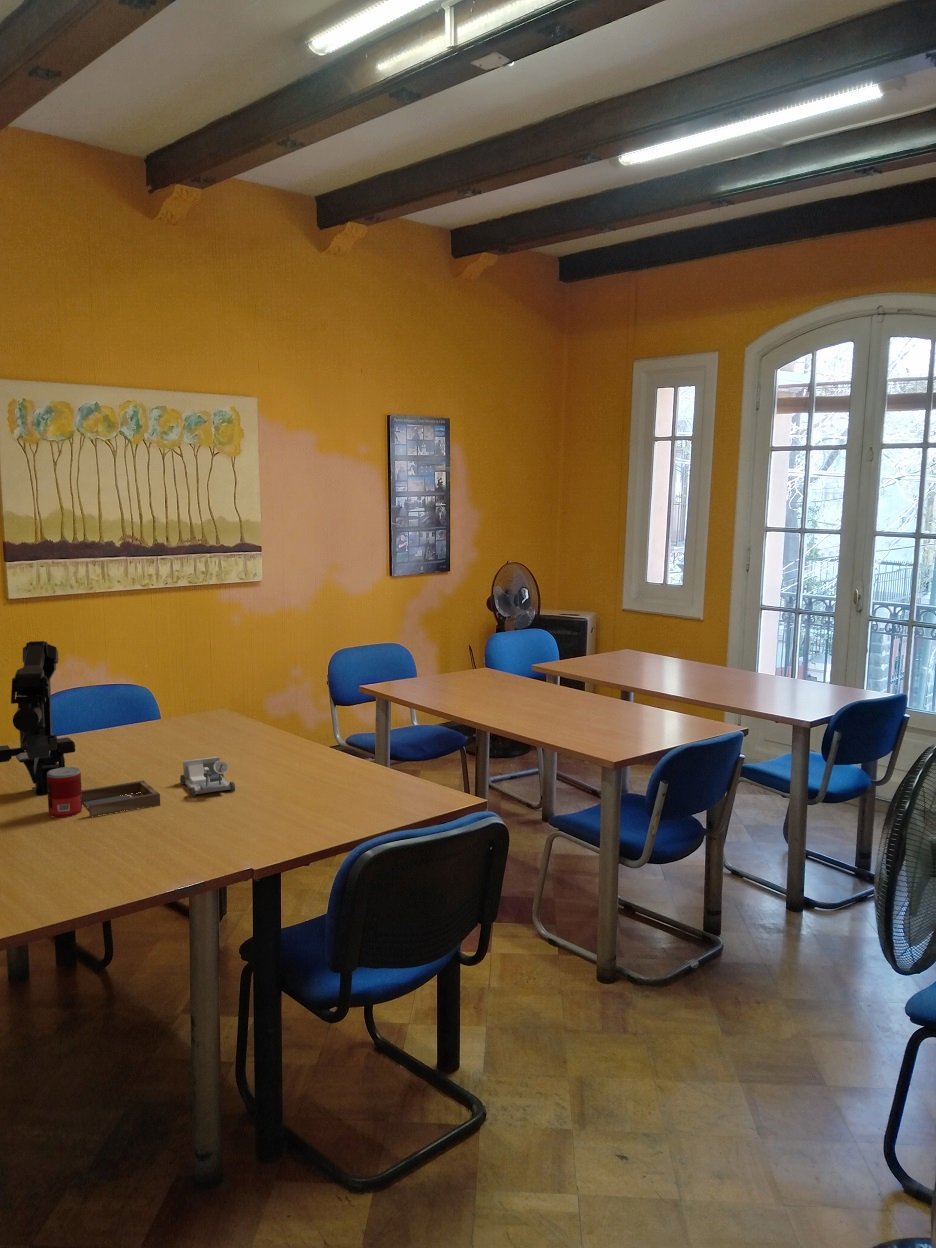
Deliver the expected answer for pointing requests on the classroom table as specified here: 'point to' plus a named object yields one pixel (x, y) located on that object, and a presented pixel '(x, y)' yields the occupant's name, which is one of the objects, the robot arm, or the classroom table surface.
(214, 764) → the toy car
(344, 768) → the classroom table surface
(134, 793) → the mat
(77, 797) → the canned food
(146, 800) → the cradle
